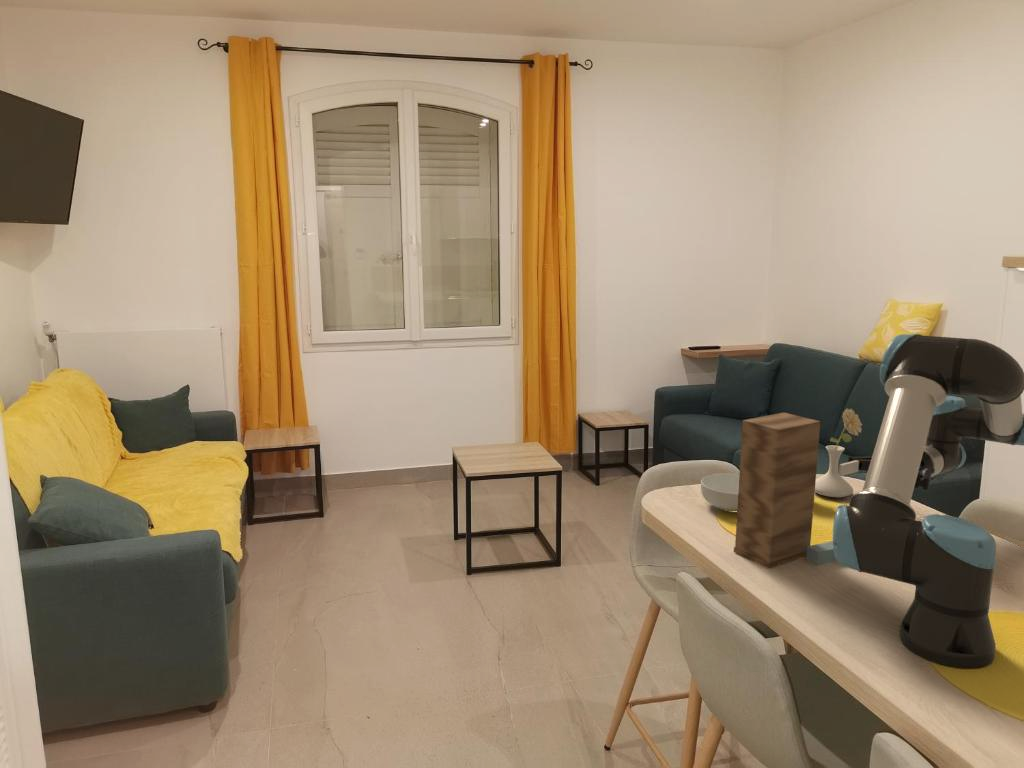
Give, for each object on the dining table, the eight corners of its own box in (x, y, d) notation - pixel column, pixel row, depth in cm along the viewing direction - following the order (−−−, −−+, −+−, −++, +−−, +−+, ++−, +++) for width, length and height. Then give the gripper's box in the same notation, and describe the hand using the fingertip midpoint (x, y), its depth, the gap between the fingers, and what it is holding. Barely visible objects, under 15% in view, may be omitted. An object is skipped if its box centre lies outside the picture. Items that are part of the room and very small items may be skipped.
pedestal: (810, 554, 179) (821, 421, 172) (769, 568, 171) (779, 430, 165) (774, 539, 187) (783, 412, 181) (733, 552, 180) (741, 420, 174)
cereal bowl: (697, 515, 203) (699, 489, 202) (701, 494, 219) (702, 470, 218) (764, 521, 199) (766, 496, 197) (763, 500, 214) (765, 476, 213)
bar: (895, 549, 182) (897, 535, 181) (817, 566, 173) (818, 552, 173) (883, 544, 185) (885, 530, 185) (806, 560, 176) (807, 546, 176)
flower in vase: (827, 502, 212) (834, 415, 207) (801, 489, 223) (808, 405, 218) (866, 498, 216) (875, 412, 211) (839, 485, 226) (847, 403, 221)
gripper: (969, 492, 179) (917, 509, 168) (870, 465, 199) (818, 478, 188) (973, 461, 177) (920, 476, 166) (873, 437, 198) (821, 449, 187)
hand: (866, 477), depth 177 cm, fingers open, 13 cm apart
